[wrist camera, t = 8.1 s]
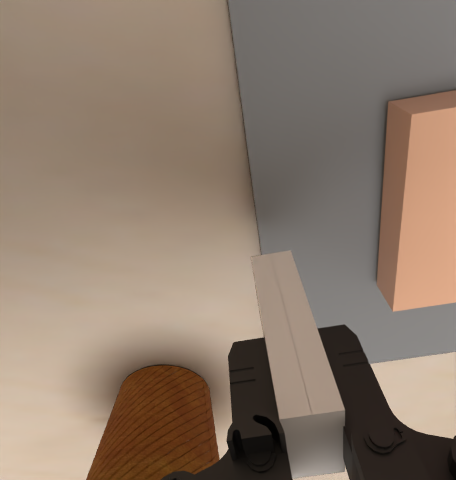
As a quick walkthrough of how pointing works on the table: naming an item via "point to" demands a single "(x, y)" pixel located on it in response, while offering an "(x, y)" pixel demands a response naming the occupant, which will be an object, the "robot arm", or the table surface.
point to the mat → (338, 147)
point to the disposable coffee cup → (157, 427)
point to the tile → (419, 203)
